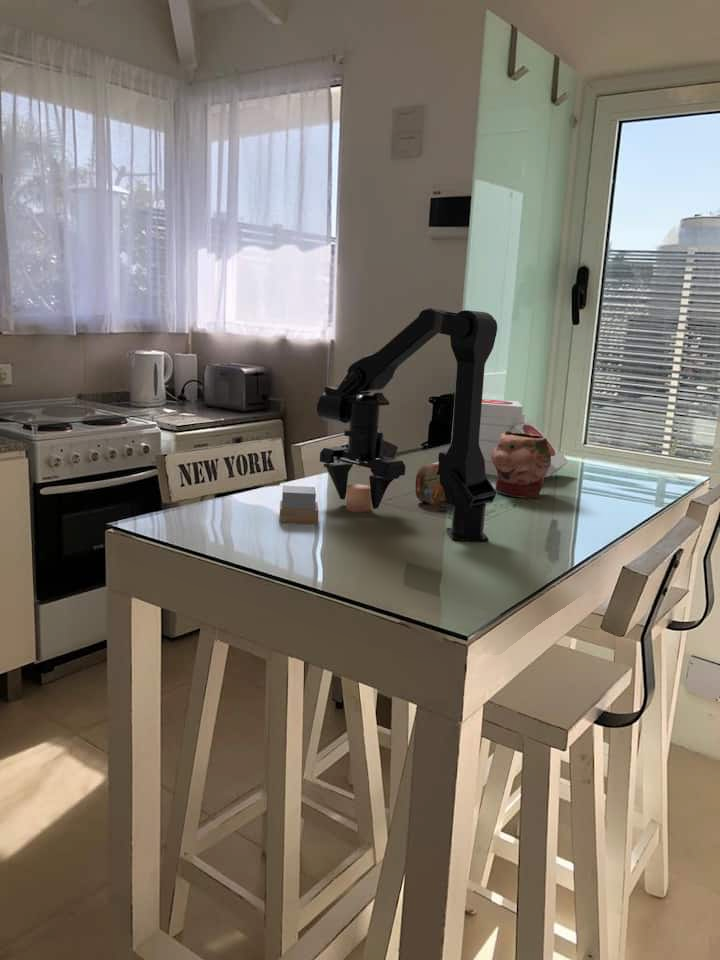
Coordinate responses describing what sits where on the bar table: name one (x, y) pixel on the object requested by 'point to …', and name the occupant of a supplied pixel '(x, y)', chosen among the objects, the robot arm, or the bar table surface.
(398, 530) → the bar table surface
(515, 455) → the decorative planter
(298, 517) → the walnut block
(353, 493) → the peach rounded block
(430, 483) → the tin
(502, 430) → the pizza boxes
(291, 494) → the slate block
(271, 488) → the bar table surface
